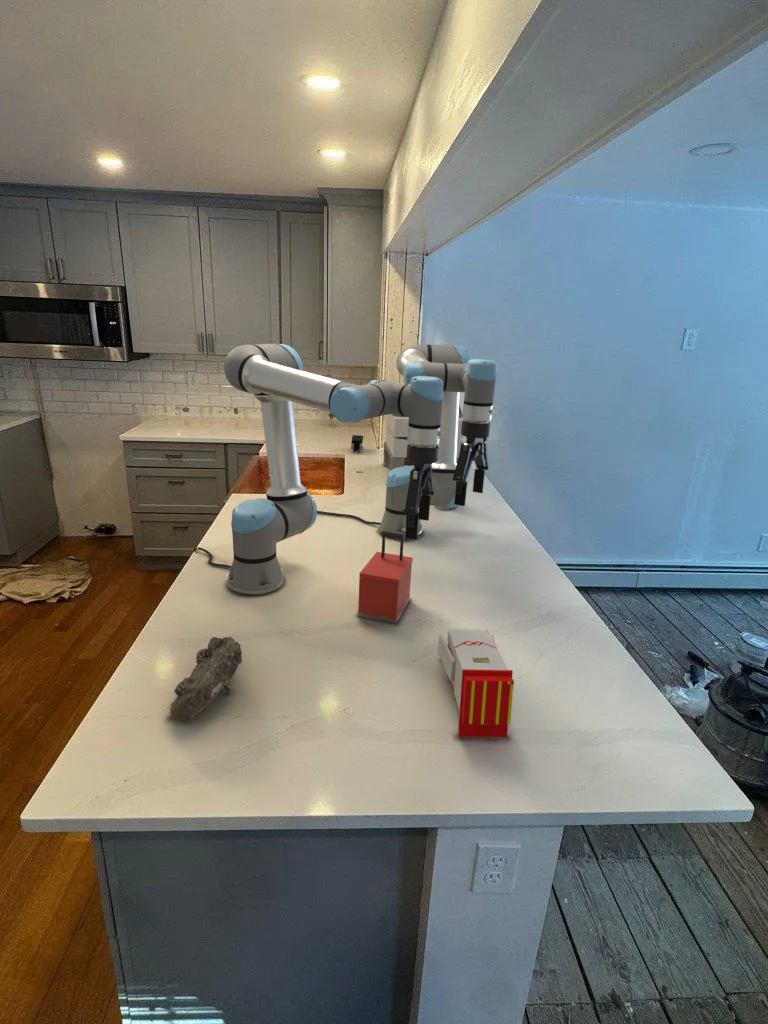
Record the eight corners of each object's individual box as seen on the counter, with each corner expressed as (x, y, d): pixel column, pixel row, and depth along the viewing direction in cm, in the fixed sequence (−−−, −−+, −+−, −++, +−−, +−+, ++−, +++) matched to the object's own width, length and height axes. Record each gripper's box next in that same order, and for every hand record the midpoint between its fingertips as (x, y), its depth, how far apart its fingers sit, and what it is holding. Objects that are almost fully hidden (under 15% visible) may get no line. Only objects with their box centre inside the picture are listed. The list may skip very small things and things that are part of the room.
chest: (374, 592, 158) (375, 556, 154) (409, 599, 155) (411, 562, 152) (358, 616, 146) (359, 577, 142) (396, 623, 143) (398, 584, 139)
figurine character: (362, 456, 306) (363, 447, 319) (363, 443, 302) (363, 434, 316) (350, 456, 306) (351, 446, 319) (350, 442, 302) (351, 433, 316)
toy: (488, 613, 130) (523, 677, 101) (484, 667, 133) (517, 744, 104) (435, 612, 130) (455, 676, 101) (432, 666, 133) (451, 743, 103)
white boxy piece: (382, 463, 289) (386, 382, 275) (445, 464, 293) (451, 384, 279) (390, 482, 257) (394, 392, 243) (460, 483, 261) (468, 394, 247)
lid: (376, 555, 155) (377, 525, 152) (412, 561, 152) (414, 530, 149) (359, 577, 142) (360, 544, 139) (398, 584, 139) (400, 550, 136)
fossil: (193, 639, 125) (242, 608, 120) (224, 667, 128) (272, 638, 123) (147, 714, 105) (202, 680, 100) (184, 746, 108) (239, 715, 103)
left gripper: (427, 458, 121) (421, 549, 128) (448, 435, 143) (441, 514, 150) (393, 454, 122) (389, 544, 130) (419, 432, 145) (414, 510, 152)
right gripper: (473, 430, 135) (465, 513, 143) (505, 416, 156) (496, 489, 163) (444, 426, 139) (437, 508, 146) (479, 412, 159) (472, 485, 167)
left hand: (417, 528), depth 140 cm, fingers open, 13 cm apart
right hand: (468, 498), depth 155 cm, fingers open, 13 cm apart
